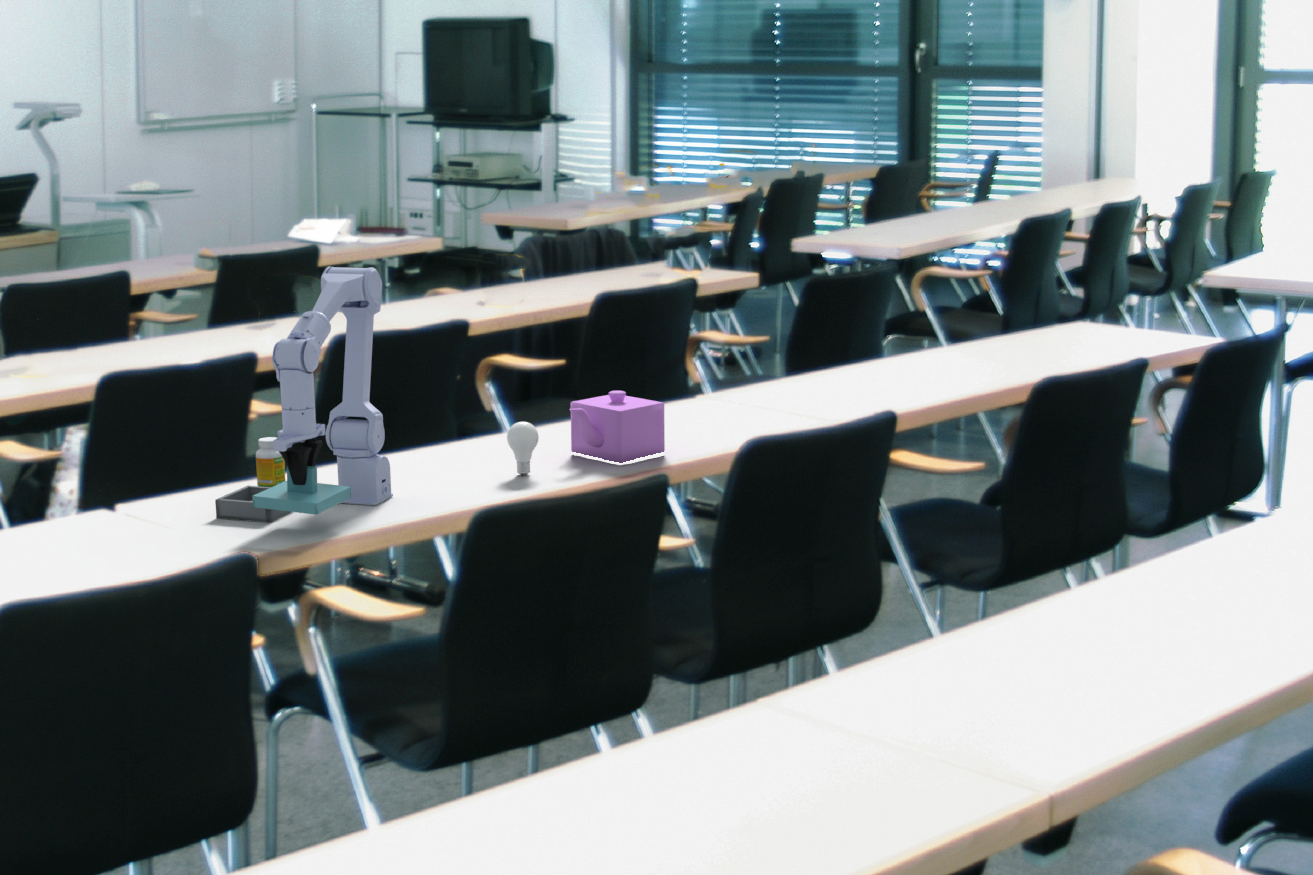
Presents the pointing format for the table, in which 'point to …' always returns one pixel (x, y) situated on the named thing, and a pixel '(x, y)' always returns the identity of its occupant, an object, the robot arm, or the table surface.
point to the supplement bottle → (269, 464)
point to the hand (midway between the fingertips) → (302, 483)
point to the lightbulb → (522, 444)
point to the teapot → (617, 427)
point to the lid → (302, 495)
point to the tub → (245, 506)
